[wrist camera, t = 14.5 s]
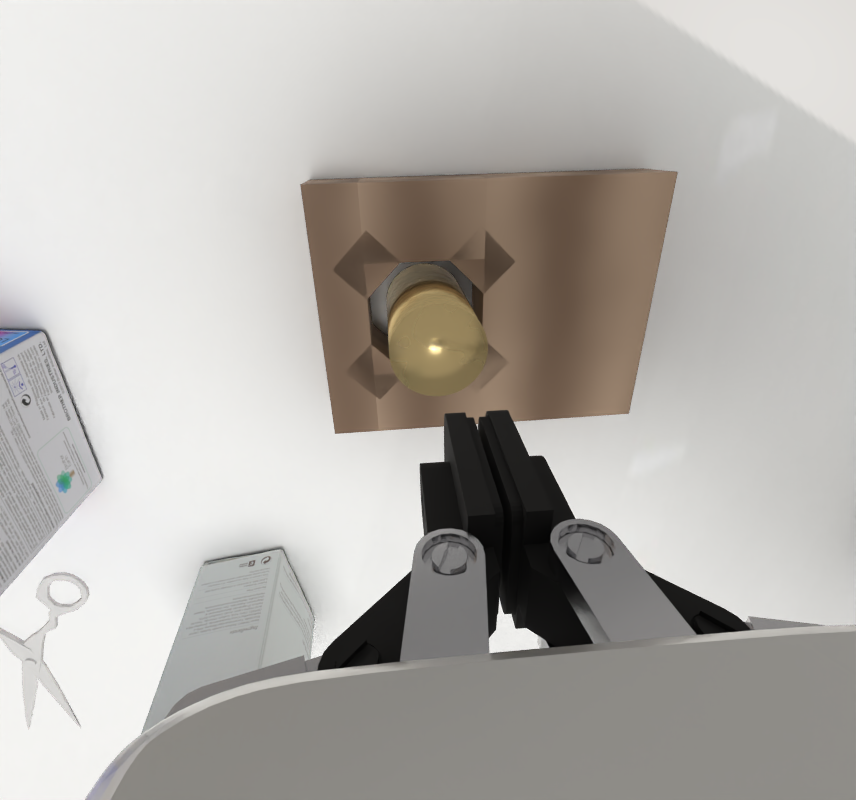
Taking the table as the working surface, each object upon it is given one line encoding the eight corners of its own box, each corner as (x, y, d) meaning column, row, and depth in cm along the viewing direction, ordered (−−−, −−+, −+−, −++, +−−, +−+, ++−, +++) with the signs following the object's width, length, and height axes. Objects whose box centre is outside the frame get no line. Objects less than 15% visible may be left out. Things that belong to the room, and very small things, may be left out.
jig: (643, 168, 23) (677, 172, 20) (606, 388, 29) (628, 413, 26) (309, 179, 22) (300, 184, 19) (339, 406, 28) (335, 433, 25)
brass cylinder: (461, 261, 24) (489, 301, 18) (461, 334, 26) (486, 393, 20) (383, 265, 24) (385, 306, 18) (389, 339, 26) (392, 399, 20)
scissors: (77, 560, 31) (122, 733, 40) (84, 551, 32) (126, 724, 41) (-109, 553, 30) (-20, 735, 39) (-98, 544, 30) (-13, 725, 39)
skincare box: (201, 560, 32) (82, 841, 19) (288, 543, 32) (228, 813, 19) (244, 637, 36) (170, 912, 23) (322, 622, 36) (290, 888, 23)
